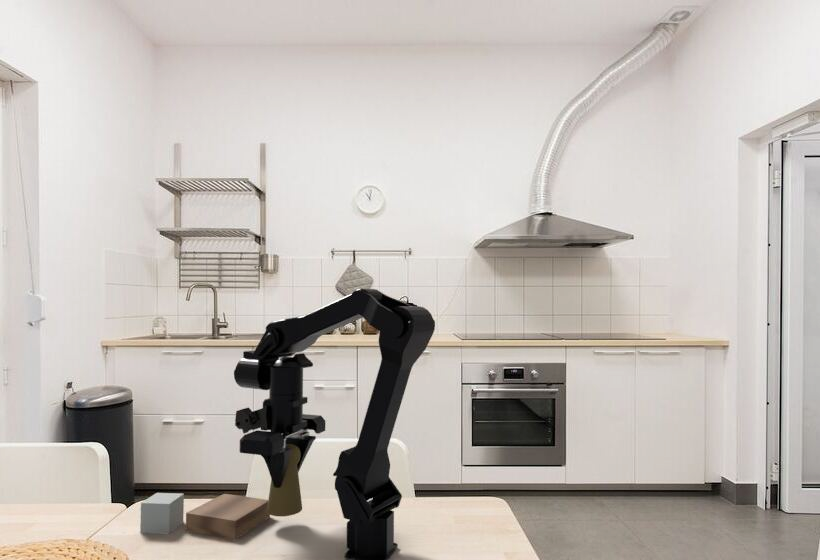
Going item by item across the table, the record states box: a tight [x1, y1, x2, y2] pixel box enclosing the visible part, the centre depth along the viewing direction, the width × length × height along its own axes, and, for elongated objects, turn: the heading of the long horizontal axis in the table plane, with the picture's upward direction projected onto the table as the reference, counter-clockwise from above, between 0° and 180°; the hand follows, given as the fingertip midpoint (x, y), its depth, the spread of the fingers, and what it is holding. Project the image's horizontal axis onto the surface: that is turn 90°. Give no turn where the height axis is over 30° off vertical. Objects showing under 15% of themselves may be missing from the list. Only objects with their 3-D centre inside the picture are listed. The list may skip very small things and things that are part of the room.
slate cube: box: [139, 492, 185, 535], centre depth 95 cm, size 5×5×5 cm
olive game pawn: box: [267, 444, 303, 517], centre depth 95 cm, size 6×6×11 cm
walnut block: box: [185, 493, 271, 540], centre depth 96 cm, size 10×10×3 cm
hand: (285, 483), depth 95 cm, fingers closed on olive game pawn, 4 cm apart
